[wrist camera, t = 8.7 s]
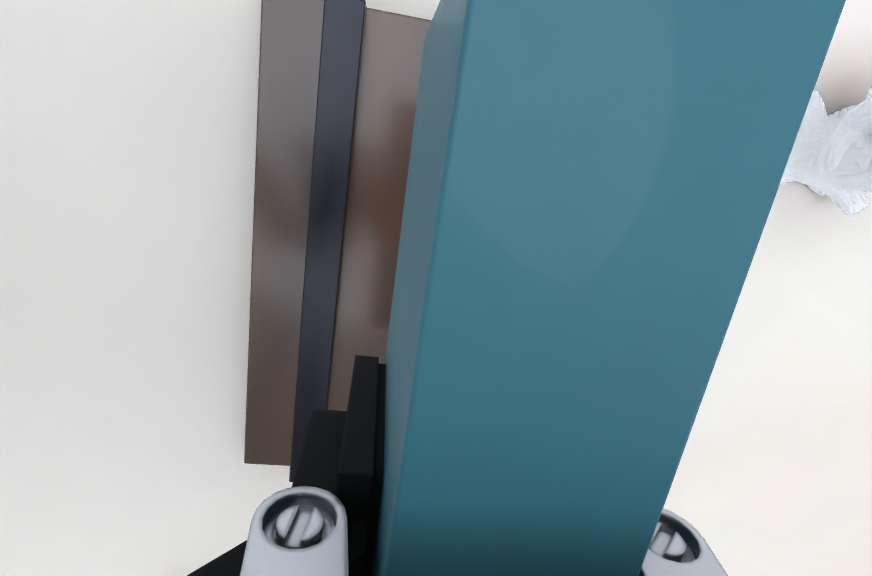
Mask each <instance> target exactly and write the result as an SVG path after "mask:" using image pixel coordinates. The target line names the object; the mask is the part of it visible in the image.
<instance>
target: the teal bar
mask: <svg viewBox="0 0 872 576" xmlns="http://www.w3.org/2000/svg"><path fill="white" fill-rule="evenodd" d="M845 1H846V0H440V3H439V5H438V8H437V10H436V12H435V15H434V17H433V20H432V22H431V25H430V27H429V29H428V32H427V34H426V37H425V39H424V47H423V55H422V63H421V72H420V80H419V88H418V96H417V104H416V112H415V120H414V128H413V136H412V145H411V153H410V161H409V169H408V177H407V185H406V193H405V201H404V209H403V218H402V226H401V234H400V242H399V250H398V258H397V266H396V274H395V282H394V291H393V299H392V307H391V315H390V323H389V331H388V339H387V347H386V355H385V364H386V381H385V439H384V475H383V486H382V495H381V502H380V509H379V517H378V524H377V532H376V539H375V547H374V554H373V562H372V569H371V576H639V573H640V570H641V568H642V565H643V562H644V559H645V557H646V554H647V551H648V548H649V545H650V543H651V540H652V537H653V534H654V532H655V529H656V526H657V523H658V520H659V518H660V515H661V512H662V509H663V507H664V504H665V501H666V498H667V495H668V493H669V490H670V487H671V484H672V482H673V479H674V476H675V473H676V470H677V468H678V465H679V462H680V459H681V456H682V454H683V451H684V448H685V445H686V443H687V440H688V437H689V434H690V431H691V429H692V426H693V423H694V420H695V418H696V415H697V412H698V409H699V406H700V404H701V401H702V398H703V395H704V393H705V390H706V387H707V384H708V381H709V379H710V376H711V373H712V370H713V368H714V365H715V362H716V359H717V356H718V354H719V351H720V348H721V345H722V343H723V340H724V337H725V334H726V331H727V329H728V326H729V323H730V320H731V318H732V315H733V312H734V309H735V306H736V304H737V301H738V298H739V295H740V293H741V290H742V287H743V284H744V281H745V279H746V276H747V273H748V270H749V268H750V265H751V262H752V259H753V256H754V254H755V251H756V248H757V245H758V243H759V240H760V237H761V234H762V231H763V229H764V226H765V223H766V220H767V218H768V215H769V212H770V209H771V206H772V204H773V201H774V198H775V195H776V193H777V190H778V187H779V184H780V181H781V179H782V176H783V173H784V170H785V168H786V165H787V162H788V159H789V156H790V154H791V151H792V148H793V145H794V142H795V140H796V137H797V134H798V131H799V129H800V126H801V123H802V120H803V117H804V115H805V112H806V109H807V106H808V104H809V101H810V98H811V95H812V92H813V90H814V87H815V84H816V81H817V79H818V76H819V73H820V70H821V67H822V65H823V62H824V59H825V56H826V54H827V51H828V48H829V45H830V42H831V40H832V37H833V34H834V31H835V29H836V26H837V23H838V20H839V17H840V15H841V12H842V9H843V6H844V4H845Z"/></svg>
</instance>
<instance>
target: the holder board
mask: <svg viewBox="0 0 872 576" xmlns="http://www.w3.org/2000/svg"><path fill="white" fill-rule="evenodd" d="M431 22H432V21H431V20H426V19H421V18H416V17H411V16H406V15H401V14H396V13H391V12H386V11H381V10H375V9H370V8H366V1H365V0H262V7H261V34H260V60H259V87H258V113H257V140H256V166H255V192H254V219H253V245H252V272H251V298H250V325H249V351H248V377H247V404H246V430H245V457H244V463H249V464H267V465H284V466H290V477H289V482H293V481H294V478H295V474H296V470H297V466H298V463H299V459H300V455H301V451H302V448H303V444H304V440H305V437H306V433H307V429H308V425H309V422H310V418H311V414H312V411H313V409H325V410H339V411H347V407H348V401H349V394H350V387H351V380H352V374H353V367H354V360H355V355H362V356H373V357H379V362H378V363H382V364H385V355H386V347H387V339H388V331H389V323H390V315H391V307H392V299H393V291H394V282H395V274H396V266H397V258H398V250H399V242H400V234H401V226H402V218H403V209H404V201H405V193H406V185H407V177H408V169H409V161H410V153H411V145H412V136H413V128H414V120H415V112H416V104H417V96H418V88H419V80H420V72H421V63H422V55H423V47H424V39H425V37H426V34H427V32H428V29H429V27H430V25H431Z"/></svg>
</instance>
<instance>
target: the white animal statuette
mask: <svg viewBox="0 0 872 576" xmlns="http://www.w3.org/2000/svg"><path fill="white" fill-rule="evenodd" d="M868 92H869V93H868V94H867V98H866V100H864V101H863V102H861V103H860V104H859V105H853V106H848V107H846V108H843V109H842V110H839V111H836V112H834V113H833V114H830V115H828V116H827V112H826V109H825V105H824V102H823V101H822V97H821V96H820V95H819V92H818V91H813V92H812V95H811V98H810V101H809V104H808V106H807V109H806V112H805V115H804V117H803V120H802V123H801V126H800V129H799V131H798V134H797V137H796V140H795V142H794V145H793V148H792V151H791V154H790V156H789V159H788V162H787V165H786V168H785V170H784V173H783V176H782V179H781V181H780V184H779V185H781V184H783V183H787V182H792V181H797V182H800V183H802V184H805V185H808V187H809V188H810V189H811V190H813V191H814V192H815V193H817V194H819V195H822V196H823V195H826V196H828V197H829V198H830V199H831V200H832V201H834V203H835V204H836V205H837V206H838V207H839V208H840V209H841V210H842V211H843V212H844V213H845V214H846V215H848V216H851V215H852V214H855V213H858V212H859V211H860V210H862V209H864V208H866V207H867V204H869V202H870V201H869V199H868V197H867V196H866V194H865V192H872V87H871V88H870V89H869V90H868Z"/></svg>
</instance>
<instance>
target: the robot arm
mask: <svg viewBox="0 0 872 576" xmlns="http://www.w3.org/2000/svg"><path fill="white" fill-rule="evenodd" d="M378 362H379V357H373V356H362V355H355V360H354V367H353V374H352V380H351V387H350V394H349V401H348V407H347V411H339V410H325V409H313V411H312V414H311V418H310V422H309V425H308V429H307V433H306V437H305V440H304V444H303V448H302V451H301V455H300V459H299V463H298V466H297V470H296V474H295V478H294V481H293V485H292V488H287V489H285V490H282V491H279V492H276V493H275V494H273V495H272V496H270V497H268V498H267V499H265V500H264V501H263V502H262V503H261V505H260V506H259V507H258V508H257V509H256V511H255V513H254V516H253V518H252V521H251V525H250V530H249V535H248V540H247V541H245V542H243V543H241V544H240V545H238V546H236V547H235V548H233V549H231V550H230V551H228V552H226V553H224V554H223V555H221V556H219V557H218V558H216V559H214V560H213V561H211V562H209V563H208V564H206V565H204V566H202V567H201V568H199V569H197V570H196V571H194V572H192V573H191V574H189V575H187V576H371V569H372V562H373V554H374V547H375V539H376V532H377V524H378V517H379V509H380V502H381V495H382V486H383V475H384V439H385V381H386V364H382V363H378ZM639 576H728V575H727V573H726V572H725V570H724V569H723V567H722V566H721V564H720V563H719V561H718V559H717V558H716V556H715V555H714V553H713V552H712V550H711V549H710V547H709V545H708V544H707V542H706V541H705V539H704V538H703V537H702V536H701V534H700V533H699V532H698V531H697V530H696V529H695V528H694V527H693V526H692V525H691V524H689V523H688V522H687V521H686V520H684V519H683V518H681V517H679V516H678V515H676V514H675V513H673V512H671V511H668V510H666V509H662V512H661V515H660V518H659V520H658V523H657V526H656V529H655V532H654V534H653V537H652V540H651V543H650V545H649V548H648V551H647V554H646V557H645V559H644V562H643V565H642V568H641V570H640V573H639Z"/></svg>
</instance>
